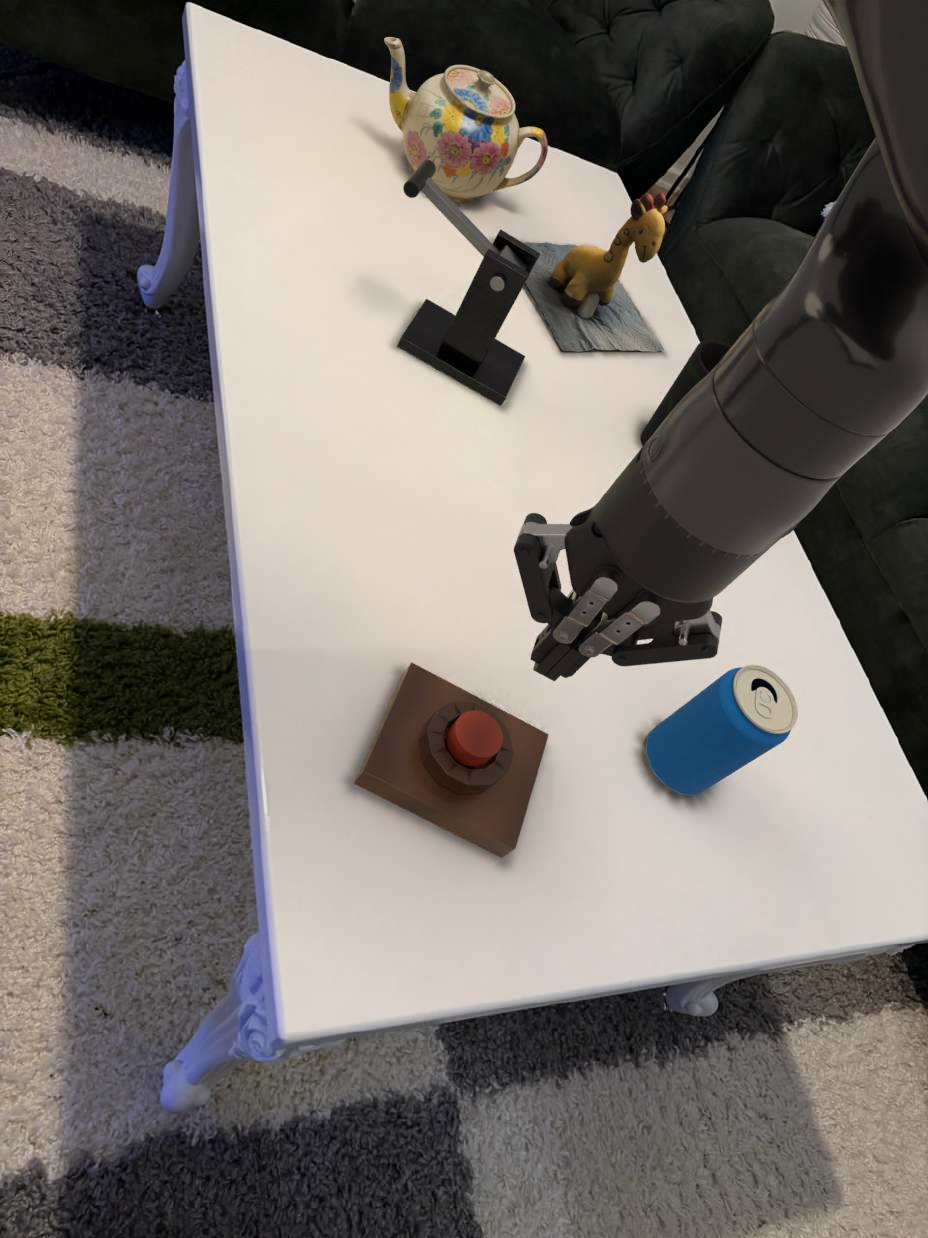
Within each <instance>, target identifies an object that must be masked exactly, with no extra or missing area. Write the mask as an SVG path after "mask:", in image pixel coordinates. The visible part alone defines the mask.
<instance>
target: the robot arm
mask: <svg viewBox="0 0 928 1238" xmlns="http://www.w3.org/2000/svg"><path fill="white" fill-rule="evenodd" d="M822 1H823V4H824V5H825V7H826V10H827V11H828V13H829V15H830V17H831V18H832V20H833V22H834V24H835V26H836V28H837V30H838V32H839V34H840V36H841V38H842V40H843V43H844V44H845V47H846V49H847V52H848V54H849V57H850V60H851V63H852V66H853V69H854V73H855V76H856V79H857V83H858V87H859V90H860V93H861V96H862V99H863V102H864V105H865V108H866V112H867V115H868V117H869V120H870V123H871V127H872V130H873V132H874V136H875V137H874V139H873V140H872V142H871V143H870V145H869V146H868V148H867V150H866V152H865V153H864V155H863V156H862V158H861V160H860V161H859V162H858V165H857V166H856V167H855V168H854V171H853V172H852V174H851V175H850V177H849V179H848V181H846V183H845V185H844V187H843V189H842V190H841V192H840V194H839V195H838V196H837V198H836V200H835V201H834V203H833V205H832V206H831V208H830V210H829V211H828V213H827V215H826V217H824V220H823V221H822V224H821V225H820V227H819V228H818V230H817V232H816V233H815V235H814V238H813V239H812V241H811V243H810V244H809V247H807V250H806V252H805V254H804V255H803V257H802V258H801V260H800V262H799V264H798V265H797V267H796V268H795V270H794V272H793V273H792V275H791V276H790V277H789V279H788V280H787V281H786V283H784V285H783V287H781V289H780V290H778V291H777V293H776V294H774V296H773V297H772V298H771V299H770V300H769V301H768V302H767V303H766V304H765V305H764V307H763V308H761V310H760V311H759V312H758V313H757V315H756V317H754V319H753V320H752V321H751V323H750V324H749V325H748V326H747V327H746V329H745V330H744V331H743V332H742V333H741V335H740V336H739V337H738V339H737V340H736V341H735V342H734V343H733V345H732V347H731V348H730V350H729V351H728V352H727V353H726V354H725V356H724V357H723V358H722V359H721V361H720V362H719V363H718V364H717V365H716V366H715V367H714V368H713V370H712V371H711V372H710V373H709V374H708V375H707V376H705V377H704V378H703V379H702V380H701V381H700V382H699V383H698V384H697V385H696V386H694V387H693V388H692V389H691V390H690V391H689V392H688V393H687V394H686V395H685V396H684V397H683V398H682V400H681V401H680V402H679V403H678V404H677V405H676V406H675V408H674V409H673V410H672V411H671V412H670V414H669V415H668V416H667V417H666V419H665V420H664V421H663V422H662V424H661V425H660V426H659V427H658V428H657V430H656V431H655V432H654V434H653V435H652V436H651V437H650V439H649V440H648V441H647V442H646V443H645V445H644V446H643V445H642V447H641V448H640V449H639V451H638V452H637V453H636V454H635V456H634V457H633V458H632V459H631V461H630V462H629V463H628V464H627V465H626V467H625V468H624V469H623V471H622V472H621V473H620V474H619V476H618V477H617V478H616V479H615V480H614V482H613V483H612V484H611V486H609V488H608V489H607V490H606V492H605V493H604V494H603V495H602V497H601V498H600V499H599V500H598V501H597V503H596V504H595V505H593V506H592V507H590V508H588V509H586V510H583V511H580V512H578V513H577V514H575V515H574V516H573V517H572V518H571V520H570V521H569V523H548V521H547V519H546V518H545V516H543V515H542V514H541V513H538V512H531V513H529V514H527V515H526V516H525V518H524V521H523V523H522V525H521V528H520V529H519V533H518V534H517V535H518V536H517V539H516V541H515V543H514V546H513V554H514V558H515V560H516V561H515V562H516V565H517V568H518V572H519V576H520V579H521V580H520V581H521V583H522V587H523V591H524V595H525V598H526V603H527V606H528V610H529V614H530V617H531V619H532V620H534V621H535V622H537V623H539V624H546V625H545V627H544V628H543V629H542V631H540V633H538V635H537V636H536V639H535V642H534V645H533V648H532V651H531V654H530V660H531V661H532V662H534V664H533V668H532V670H533V671H534V672H536V673H537V674H539V675H541V676H543V677H545V678H547V679H549V680H551V681H552V682H556V681H557V680H558V679H559V678H560V677H562V678H564V679H567V678H570V677H573V676H574V675H575V674H576V673H577V672H578V671H579V670H580V669H581V668H582V667H583V666H584V665H586V663H587V662H588V661H589V660H590V659H591V658H596V657H598V656H599V655H604V656H608V657H611V660H612V662H613V663H614V664H615V665H616V666H619V667H634V666H644V665H645V666H646V665H655V664H665V663H674V662H677V663H678V662H686V661H687V662H688V661H697V660H704V659H705V660H707V659H713V658H714V657H716V656H717V655H718V651H719V645H720V637H721V633H722V632H721V631H722V625H723V616H722V615H721V614H720V613H718V612H717V611H714V610H711V609H712V606H713V603H714V598H715V597H717V596H718V595H720V594H721V593H722V592H723V591H724V590H725V589H726V588H727V587H729V586H730V585H731V584H732V583H733V582H734V581H735V580H736V579H737V578H739V577H740V576H741V575H742V574H744V572H745V571H747V570H748V569H749V568H750V567H751V566H752V565H753V564H754V563H755V562H756V561H758V560H759V559H760V558H761V557H762V556H764V554H765V553H767V552H768V551H769V550H770V549H771V548H772V547H773V546H775V544H777V543H778V542H779V541H780V540H781V539H783V538H785V537H786V536H789V535H790V534H791V533H792V532H793V531H794V530H795V529H796V528H797V526H798V525H799V523H800V522H801V521H802V520H804V519H805V518H806V517H807V516H808V515H809V514H810V513H811V512H812V511H813V510H814V509H815V508H816V507H817V505H818V504H819V503H820V502H821V501H822V499H823V498H824V497H825V496H826V494H827V493H828V492H829V491H830V490H831V489H832V487H833V486H834V485H835V484H836V483H837V482H838V481H839V480H840V478H842V477H843V476H844V475H845V474H846V473H847V472H848V471H850V469H851V468H853V466H855V465H856V464H857V463H858V462H859V461H860V460H861V459H862V458H863V457H865V456H866V455H867V454H868V453H869V452H871V450H872V449H873V448H874V447H876V446H877V445H878V444H879V443H881V441H883V439H884V438H886V437H887V436H888V435H889V434H890V433H891V432H892V431H893V430H894V429H896V428H897V427H898V426H899V425H900V424H901V423H902V422H903V421H904V420H905V419H906V418H907V417H908V416H909V415H910V414H911V413H912V412H913V411H914V410H915V409H916V408H917V407H918V406H919V405H920V403H921V402H923V400H924V399H925V398H926V397H927V395H928V0H822ZM564 550H565V556H566V562H567V568H568V574H569V580H570V586H571V588H572V589H571V590H570V592H569V593H568V594H567V596H566V595H565V593H563V592H562V583H561V579H560V574H559V570H558V565H557V561H558V558H559V556H560V553H561V551H564ZM645 640H651V641H649V642H647V643H638V641H645Z"/></svg>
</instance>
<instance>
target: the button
mask: <svg viewBox="0 0 928 1238" xmlns="http://www.w3.org/2000/svg"><path fill="white" fill-rule="evenodd" d="M502 740H503V736H502V731H501V729H500V726H499V725H498V723H497V722H496V721H495V719H494V718H492V717H491V716H490V715H488V714H487V713H485V712H482V711H478V710H471V711H467V712H465V713H463V714H462V715H461V716H460V717H459V718H458V719H457V720H456V721H455V722H454V724H453V725H452V726H451V727H450V728H449V730H448V733H447V737H446V741H447V746H448V749H449V751H450V753H451V755H452V756H453V757H454V758H455V759H456V760H457V761H458V762H460V763H461V764H463V765H466V766H470V767H478V766H482V765H484V764H485V763H487V762H488V761H489V760H490V759H491V758H492V757H493V756H494V755H495V754H496V753H497V752H498V751H499V750H500V748H501V745H502Z"/></svg>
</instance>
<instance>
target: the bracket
mask: <svg viewBox="0 0 928 1238" xmlns="http://www.w3.org/2000/svg"><path fill="white" fill-rule="evenodd" d="M524 243H525V242H523V241H521V240H519V239H517V238H516V237H514V236H513V235H511V234H509V233H507V231H504V230H503V229H499V231H498V232H497V234H496V236H495V238H494V240H493V242H492V244H493V245H494V246H495V247H496V248H497V249H498V250H499V251H501V250H502V249H503V248H504V247H505V246H506V245H507V246H508V247H509V248H510V249H511V250H512V251H513V252H514V253H515V254H516V255H517V256H518V257H519V259H520V260H521V261H522V262H523V263H524V264H525V265H526V266H527V268H526V270H524V269H522V268H520V267H519V266H517V265H515V264H514V263H512V262H510V261H509V260H507V259H505V258H504V257H502V256H500V255H499V254H497V253H495V252H494V251H492V250H490V249H488V250H487V252H486V254H485V256H484V257H482V259H481V262H480V264H479V266H478V268H477V270H476V272H475V274H474V276H473V278H472V280H471V282H470V285H469V286H468V289H467V291H466V293H465V295H464V296H463V298H462V301H461V303H460V305H459V307H458V309H457V311H456V313H455V314H454V313H453V312H451V311H449V310H448V309H446V308H444V307H442V306H441V305H438V304H437V303H436V302H433V301H432V300H430V299H428V298H425V300H424V302H423V303H422V304H421V306H420V308H419V309H418V310H417V312H416V313H415V315H414V317H413V318H412V320H411V321H410V322H409V324H408V325H407V327H406V329H405V330H404V332H403V334H402V335H401V337H400V338H399V340H398V343H397V345H396V347H398V348H399V349H401V350H402V351H405V352H406V353H407V354H409V355H411V356H413V357H415V358H416V359H418V360H420V361H421V362H423V363H425V364H427V365H429V366H430V367H432V368H434V369H435V370H437V371H438V372H441V373H443V374H444V375H446V376H448V377H449V378H450V379H453V380H455V381H456V382H457V383H460V384H462V385H463V386H465V387H467V388H469V389H470V390H472V391H474V392H476V393H477V394H480V395H481V396H483V397H484V398H486V399H488V400H489V401H491V402H493V403H495V404H496V405H498V406H502V405H503V404H504V402H505V401H506V399H507V397H508V395H509V392H510V390H511V388H512V386H513V384H514V382H515V379H516V377H517V375H518V373H519V371H520V370H521V367H522V364H523V362H524V360H525V358H526V355H524V354H523V353H521V352H519V351H517V350H515V349H514V348H512V347H511V346H508V345H507V344H505V343H503V342H502V341H500V340H498V339H497V336H498V334H499V332H500V330H501V328H502V326H503V324H504V323H505V321H506V319H507V317H508V315H509V313H510V312H511V310H512V308H513V306H514V304H515V302H516V301H517V299H518V297H519V295H520V293H521V292H522V289H523V288H524V287H525V285H526V283H525V282H526V280H527V279H528V277H529V275H530V272H531V271H532V269H533V267H534V265H535V263H536V261H537V259H538V258H539V256H540V253H539V252H537V251H536V250H534V249H532V248H531V247H529V246H527V245H526V244H524Z"/></svg>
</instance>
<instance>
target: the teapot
mask: <svg viewBox="0 0 928 1238" xmlns="http://www.w3.org/2000/svg"><path fill="white" fill-rule="evenodd" d="M383 42H384V44H385V45H386V46H387V48H388V50H389V52H390V59H391V60H390V61H391V63H390V76H389V77H390V78H389V88H388V102H389V110H390V113H391V116H392V118H393V121H394V122H395V123H394V124H396V126H397V128H398V129H399V130H400V132H401V133H402V144H403V148H404V154H405V156H406V158H407V161H408V167H409V171H410V173H411V175H412V174H413V173H414V172H415V171H416V169H417V168H418V167H419V166H420V165H421V163H422V162H423V161H424V160H431V161H432V162H433V163H434V164H435V166H436V172H435V174H434V175H433V176H432V178H431V179H432V180H433V181H434V182H435V184H436V185H437V186H438V187H439V188H440V189H441V190H442V191H443V192H444V193H445V194H446V195H447V196H448V197H449V198H450V199H451V201H452V202H453V203H460V204H461V203H469V202H472V201H474V200H475V199H476V198H478V197H481V196H485V195H488V194H489V193H492V192H496V191H500V190H504V189H507V188H511V187H515V186H518V185H521V184H524V183H526V182H527V181H530V180H531V179H533V178H534V177H535V176H536V175H537V174H539V172H540V170H541V169H542V168H543V166H544V164H545V162H546V159H547V157H548V153H549V143H548V138H547V136H546V132H545V131H544V130H543V129H542V128H539V127H536V126H524V127H520V125H519V124H520V123H519V121H518V117H517V116H516V113H515V111H516V101H515V99H514V97H513V95H512V94H511V92H510V91H509V89H508V88H507V87H506V86H505V85H504V84H503V83H502V82H501V81H499V80H498V79H497V78H495V77H494V75H493V74H492V73H490V72H489V71H487V70H484V69H479V68H477V67H474V66H470V65H466V64H454V65H450V66H449V67H447V68H446V69H445V71H444V72H443V73H439V74H435V75H433V76H431V77H429V78H428V79H426V80H425V81H424V82H423V83H422V84H421V85H420V86H419V88H418V89H417V91H416V92H414V91H412V90H411V89H410V88H409V87H408V84H407V78H406V77H407V76H406V75H407V74H406V54H405V49H404V46H403V43H402V41H401V39H400V38H397V37H393V36H387V37H385V38H384V39H383ZM526 138H536V139H537V140H538V142H539V144H540V147H541V150H540V155H539V158H538V160H537V162H536V164H535V165H534V166H533V167H532V168H531V169H530V170H529V171H527V172H525V173H523V174H520V175H519V176H516V177H507V176H508V173H509V171H511V170H510V169H511V168H512V167H513V163H514V162H515V159H516V156H517V153H518V151H519V148H520V147H521V146H522V144H523V142H524V140H525V139H526Z"/></svg>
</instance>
